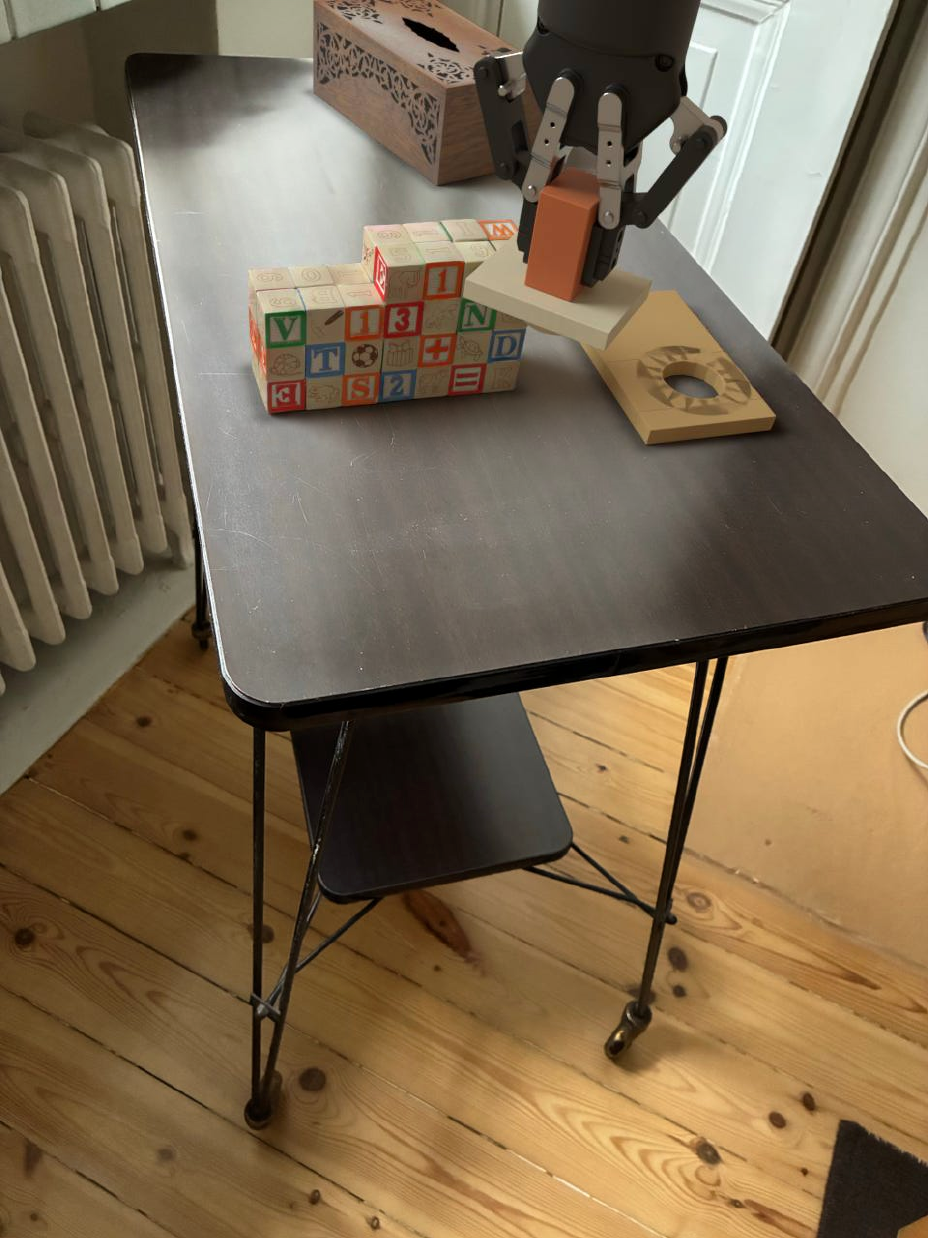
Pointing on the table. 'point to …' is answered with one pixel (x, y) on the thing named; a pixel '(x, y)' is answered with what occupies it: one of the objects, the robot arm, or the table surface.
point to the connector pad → (552, 312)
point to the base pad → (676, 346)
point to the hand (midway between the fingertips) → (563, 268)
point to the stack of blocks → (384, 321)
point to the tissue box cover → (410, 81)
